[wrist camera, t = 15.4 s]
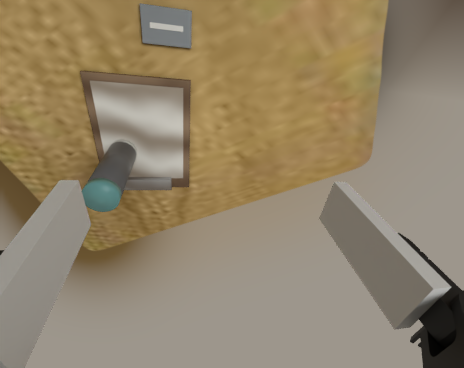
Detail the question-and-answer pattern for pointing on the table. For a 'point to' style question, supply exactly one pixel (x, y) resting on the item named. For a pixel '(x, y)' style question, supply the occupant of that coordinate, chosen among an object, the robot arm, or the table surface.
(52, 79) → the table surface
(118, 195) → the marker
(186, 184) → the clipboard
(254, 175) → the table surface
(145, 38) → the word card
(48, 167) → the table surface
